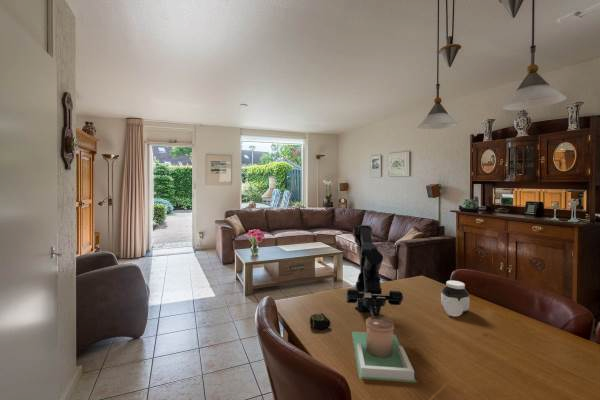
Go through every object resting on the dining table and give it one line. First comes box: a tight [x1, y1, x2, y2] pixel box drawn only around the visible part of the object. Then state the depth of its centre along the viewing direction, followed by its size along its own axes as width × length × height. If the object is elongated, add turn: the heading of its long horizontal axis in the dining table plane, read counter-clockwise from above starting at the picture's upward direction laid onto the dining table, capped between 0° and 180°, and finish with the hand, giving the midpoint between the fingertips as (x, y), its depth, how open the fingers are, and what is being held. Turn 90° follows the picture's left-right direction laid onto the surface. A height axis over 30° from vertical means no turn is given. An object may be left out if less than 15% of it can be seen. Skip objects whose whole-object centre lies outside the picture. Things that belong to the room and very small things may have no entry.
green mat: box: [351, 331, 418, 383], centre depth 89 cm, size 25×15×1 cm, turn 174°
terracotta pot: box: [365, 315, 395, 358], centre depth 90 cm, size 8×8×9 cm
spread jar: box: [440, 280, 470, 317], centre depth 119 cm, size 12×11×12 cm
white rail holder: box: [357, 343, 415, 380], centre depth 83 cm, size 12×14×2 cm
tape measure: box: [309, 313, 331, 330], centre depth 107 cm, size 7×7×4 cm
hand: (376, 321), depth 95 cm, fingers closed
